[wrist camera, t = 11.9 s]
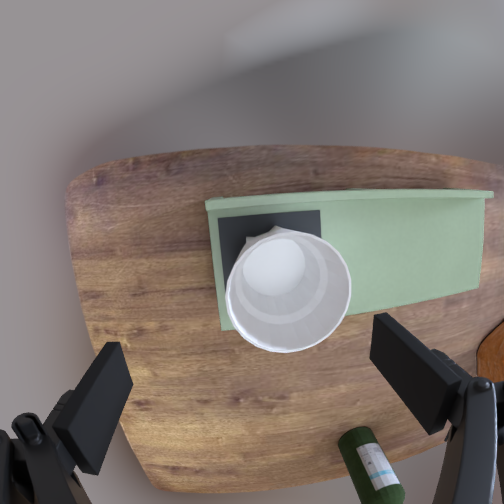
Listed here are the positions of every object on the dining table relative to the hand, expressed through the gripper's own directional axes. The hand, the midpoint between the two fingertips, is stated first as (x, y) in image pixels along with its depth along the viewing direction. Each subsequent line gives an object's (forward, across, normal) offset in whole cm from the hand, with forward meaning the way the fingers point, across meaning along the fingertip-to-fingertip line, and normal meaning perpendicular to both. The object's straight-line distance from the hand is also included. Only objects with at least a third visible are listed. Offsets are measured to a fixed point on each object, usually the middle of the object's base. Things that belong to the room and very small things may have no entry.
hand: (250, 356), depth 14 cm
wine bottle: (+28, +21, -44) cm, 56 cm away
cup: (+19, +4, -1) cm, 19 cm away
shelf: (+28, +17, -1) cm, 32 cm away
